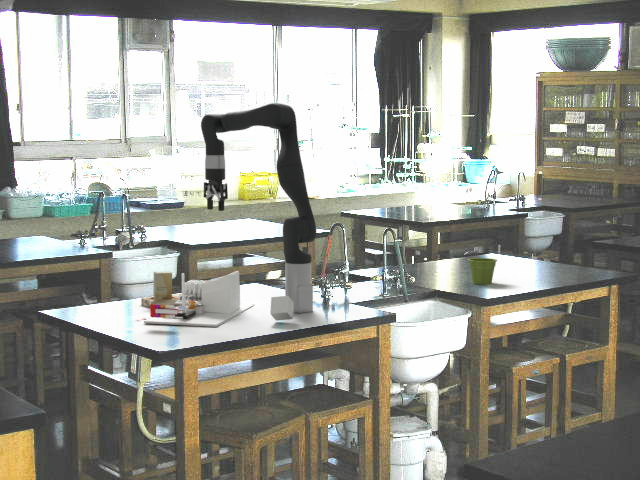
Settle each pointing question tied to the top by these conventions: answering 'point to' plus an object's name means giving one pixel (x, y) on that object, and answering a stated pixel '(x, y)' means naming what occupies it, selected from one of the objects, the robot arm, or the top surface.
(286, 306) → the grey cube
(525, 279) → the top surface
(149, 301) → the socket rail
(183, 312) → the electronics kit
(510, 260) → the top surface
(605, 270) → the top surface
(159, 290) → the skincare box
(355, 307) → the top surface
